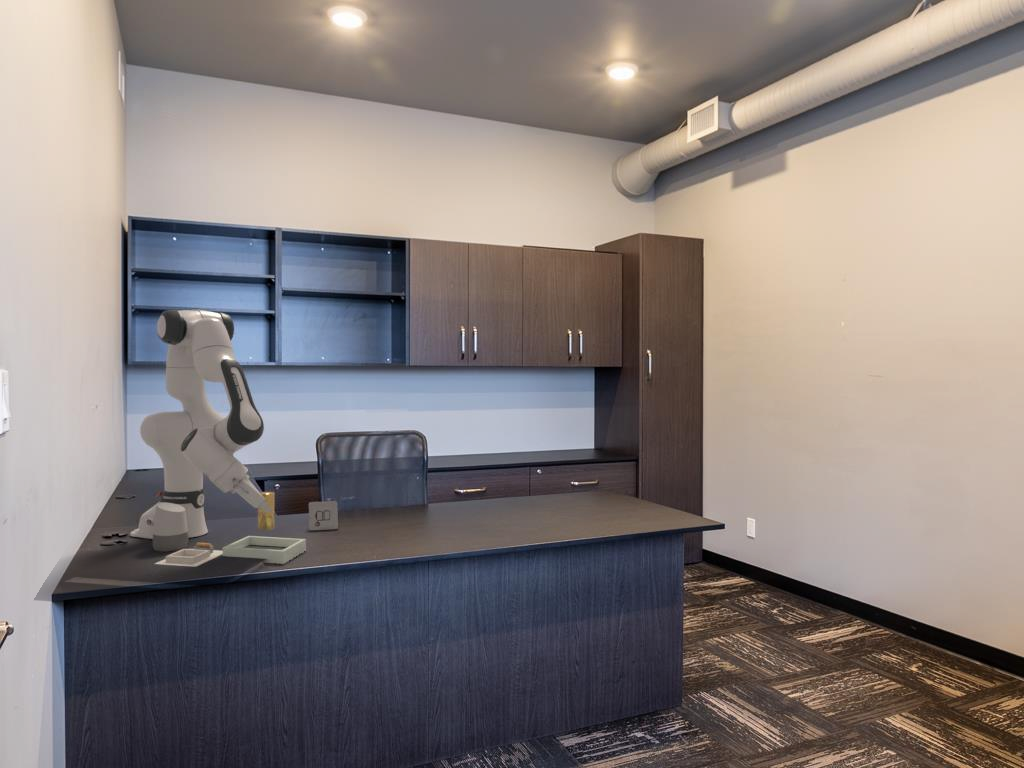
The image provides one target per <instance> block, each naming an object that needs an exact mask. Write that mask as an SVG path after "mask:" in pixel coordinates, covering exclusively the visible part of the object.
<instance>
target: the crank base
mask: <svg viewBox="0 0 1024 768" xmlns="http://www.w3.org/2000/svg"><path fill="white" fill-rule="evenodd" d="M222 553H223V550H217V549H214V545H212V544H211V543H209V542H196V545H195V546H193V547H192V548H184V549H181V550H176V551H174V552H172V553H171V554H170V553H169V554H167V555H166V556H165V558H164V559H161V560H160V561H157V562H155V563H154V565H161V566H162V565H164V566H180V567H181V566H182V567H199V566H201V565H202V564H205V563H207V562H209V561H211V560H213V559H215V558H217V557H220V556H222Z"/></svg>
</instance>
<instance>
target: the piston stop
mask: <svg viewBox="0 0 1024 768" xmlns="http://www.w3.org/2000/svg"><path fill="white" fill-rule="evenodd" d="M260 493H261V495H262V496H263V497H264V498H265V500H264V501H265V502H266V503H267V504H268V505H269V506H270V507H271V508H272V510H271V511H270V513H266V512H265V511H264V510H263V509H261V508H260V507H258V508H257V529H258V530H259V531H269V530H270V531H271V530H274V529H275V499H276V498H275V494H276V493H275V492H273V491H262V492H261V491H260Z"/></svg>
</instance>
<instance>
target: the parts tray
mask: <svg viewBox="0 0 1024 768" xmlns="http://www.w3.org/2000/svg"><path fill="white" fill-rule="evenodd" d="M248 546H267V547H279V548H280V547H282V548H283V547H284V548H283V549H269V548H253V547H251V548H250V547H248ZM306 546H307V539H305V538H290V537H274V536H273V537H272V536H258V535H257V536H256V535H247V536H245V537H242V538H241V539H238V540H236V541H234V542H232V543H229V544H227V545H225V546H223V547H222V551H223V553H222V555H221V556H222V557H233V558H250V559H263V560H262V561H261V562H263V563H264V564H275V563H276V564H277V565H279V564H280V565H284V564H286V563H288V562H290V561H292V560H293V559H294V557H295V558H296V556H297V557H298V556H300V555H302V554H303V553H305V552H307V547H306ZM304 551H305V552H304ZM301 553H302V554H301ZM299 554H300V555H299ZM289 560H290V561H289ZM263 563H262V564H263ZM276 564H275V565H276Z"/></svg>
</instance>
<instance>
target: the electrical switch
mask: <svg viewBox="0 0 1024 768" xmlns="http://www.w3.org/2000/svg"><path fill="white" fill-rule="evenodd" d="M338 513H339V511H338V501H336V500H334V501H330V500H329V501H312V502H309V503H308V530H309V531H310V532H313V531H315V532H316V531H330V530H332V531H333V530H337V529H338V527H339V518H338V517H339V515H338ZM317 524H318V525H317Z"/></svg>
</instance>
